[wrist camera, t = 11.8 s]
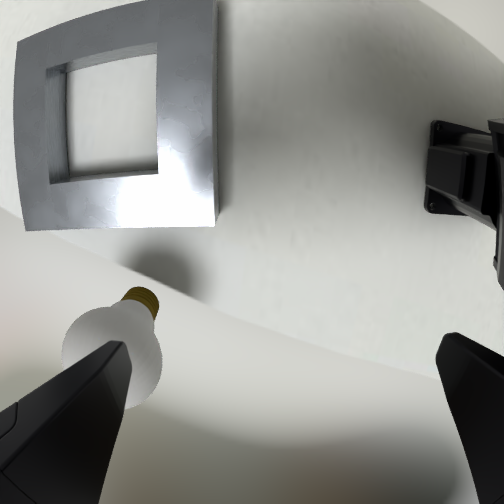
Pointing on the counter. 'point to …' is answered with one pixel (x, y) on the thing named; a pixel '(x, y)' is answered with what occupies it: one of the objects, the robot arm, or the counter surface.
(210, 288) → the counter surface
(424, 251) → the counter surface
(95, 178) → the socket collar
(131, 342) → the light bulb
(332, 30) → the counter surface
